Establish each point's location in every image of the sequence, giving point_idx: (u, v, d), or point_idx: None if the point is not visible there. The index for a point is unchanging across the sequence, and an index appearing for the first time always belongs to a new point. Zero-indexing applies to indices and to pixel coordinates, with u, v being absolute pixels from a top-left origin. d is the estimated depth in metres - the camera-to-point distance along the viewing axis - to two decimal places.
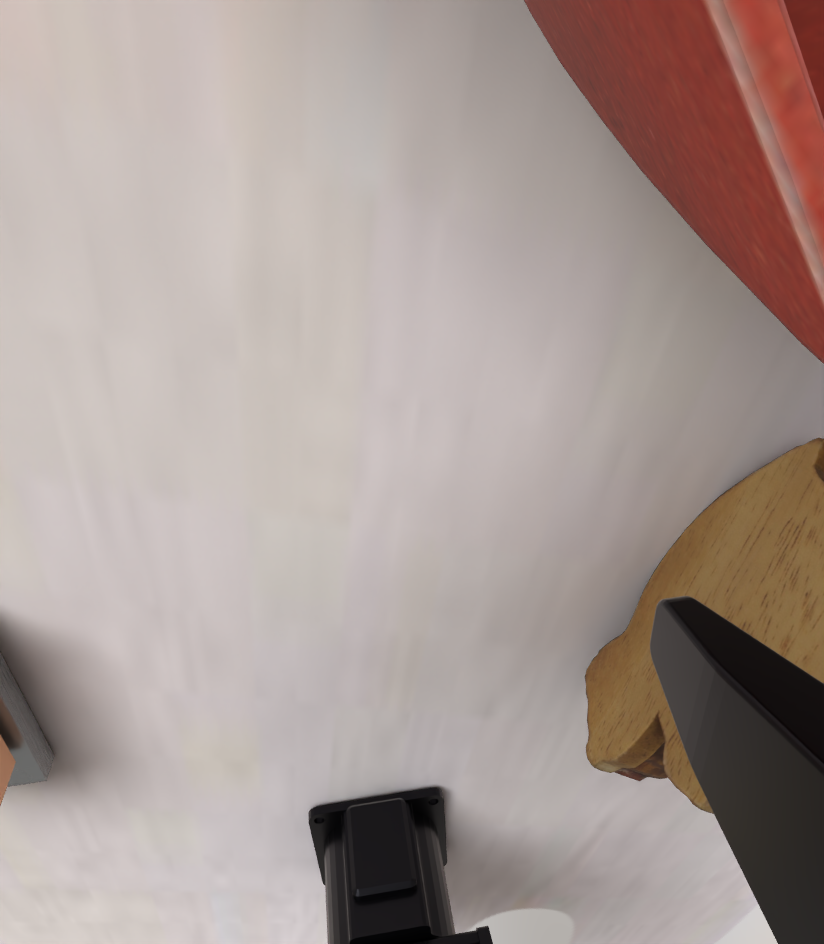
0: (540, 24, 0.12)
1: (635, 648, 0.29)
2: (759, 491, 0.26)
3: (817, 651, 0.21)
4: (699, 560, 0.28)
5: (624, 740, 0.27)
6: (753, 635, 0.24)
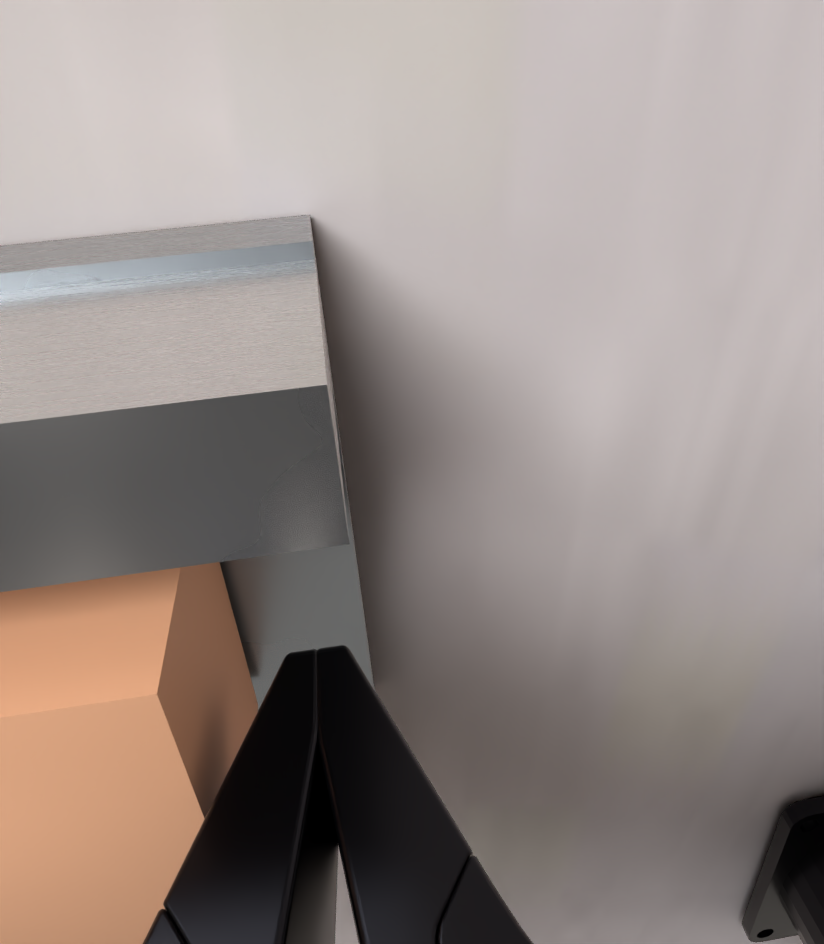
0: None
1: None
2: None
3: None
4: None
5: None
6: None
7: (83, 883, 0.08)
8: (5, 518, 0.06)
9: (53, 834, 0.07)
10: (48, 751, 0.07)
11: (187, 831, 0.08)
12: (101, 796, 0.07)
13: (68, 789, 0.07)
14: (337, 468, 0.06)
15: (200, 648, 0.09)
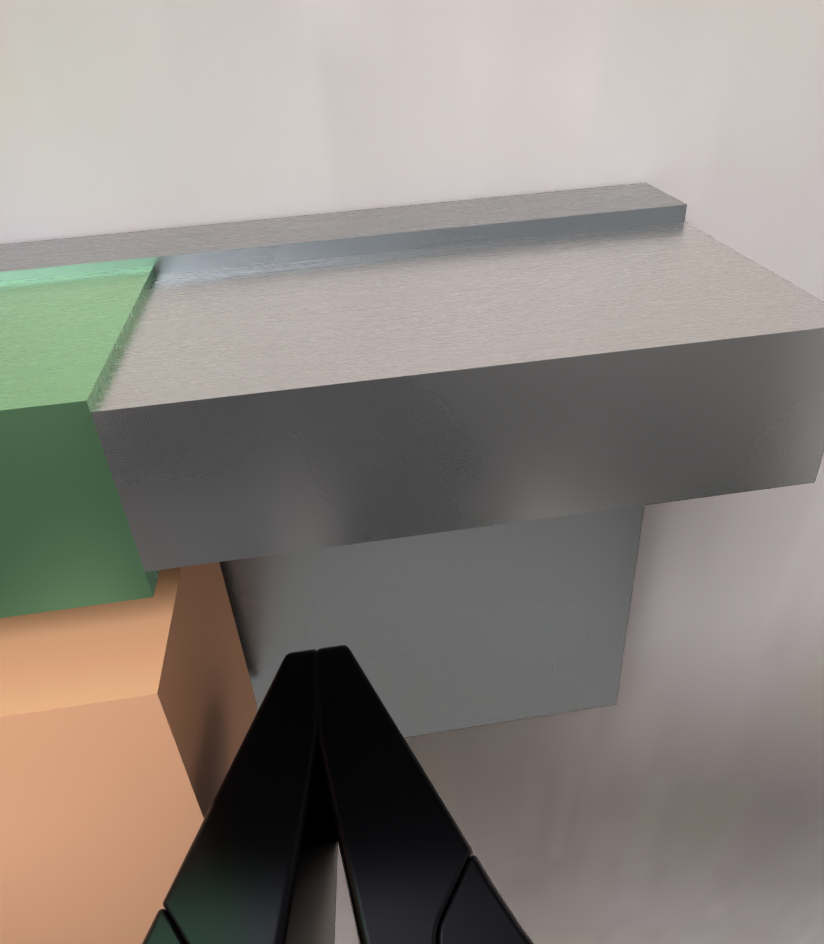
0: None
1: None
2: None
3: None
4: None
5: None
6: None
7: (82, 883, 0.08)
8: (537, 450, 0.06)
9: (53, 834, 0.07)
10: (48, 751, 0.07)
11: (187, 832, 0.08)
12: (100, 795, 0.07)
13: (68, 789, 0.07)
14: None
15: (200, 648, 0.09)
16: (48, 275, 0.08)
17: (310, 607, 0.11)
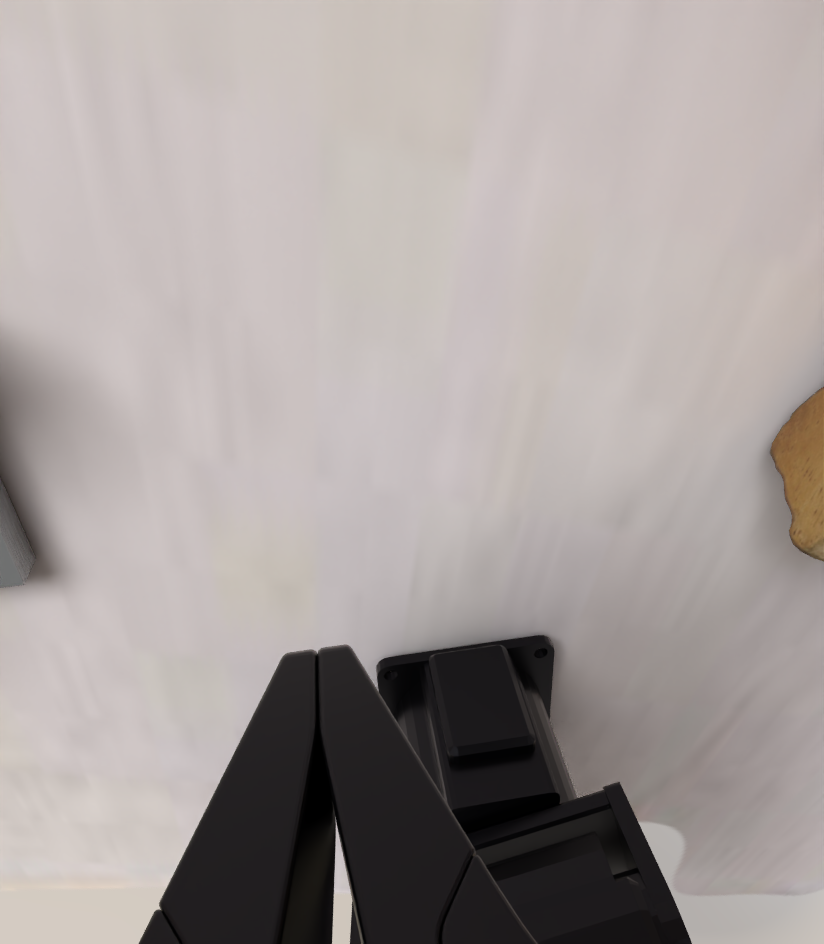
0: None
1: None
2: None
3: None
4: None
5: None
6: None
7: None
8: None
9: None
10: None
11: None
12: None
13: None
14: None
15: None
16: None
17: None
